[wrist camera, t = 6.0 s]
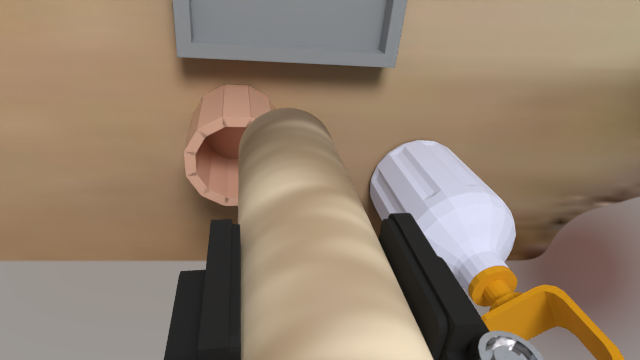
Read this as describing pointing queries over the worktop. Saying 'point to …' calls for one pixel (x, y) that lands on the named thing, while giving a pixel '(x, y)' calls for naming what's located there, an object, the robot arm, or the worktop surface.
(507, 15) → the worktop surface
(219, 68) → the worktop surface
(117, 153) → the worktop surface
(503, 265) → the soap bottle
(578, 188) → the worktop surface
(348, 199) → the dowel
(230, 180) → the cup
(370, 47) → the tray
